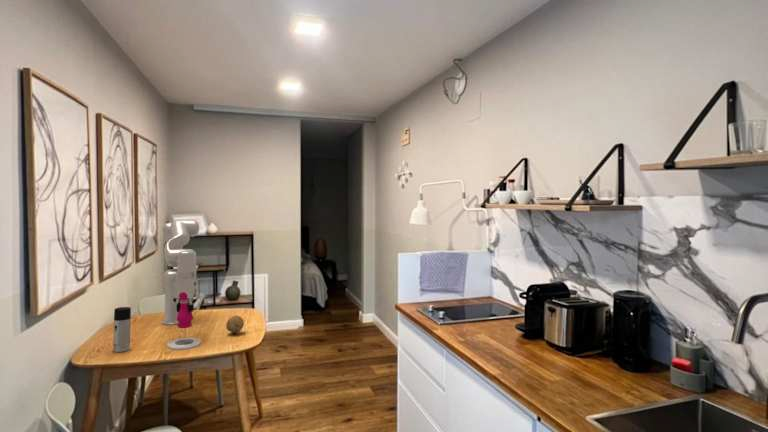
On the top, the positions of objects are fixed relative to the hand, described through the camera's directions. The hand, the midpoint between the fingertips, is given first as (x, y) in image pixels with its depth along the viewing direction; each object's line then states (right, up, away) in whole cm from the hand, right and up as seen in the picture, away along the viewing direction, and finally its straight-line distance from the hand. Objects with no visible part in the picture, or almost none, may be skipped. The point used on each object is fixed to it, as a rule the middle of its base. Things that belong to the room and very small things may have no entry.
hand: (185, 311), depth 202 cm
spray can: (-26, -16, -9) cm, 32 cm away
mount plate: (0, -17, 0) cm, 17 cm away
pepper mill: (0, -8, 0) cm, 8 cm away
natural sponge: (+18, -17, +19) cm, 31 cm away
